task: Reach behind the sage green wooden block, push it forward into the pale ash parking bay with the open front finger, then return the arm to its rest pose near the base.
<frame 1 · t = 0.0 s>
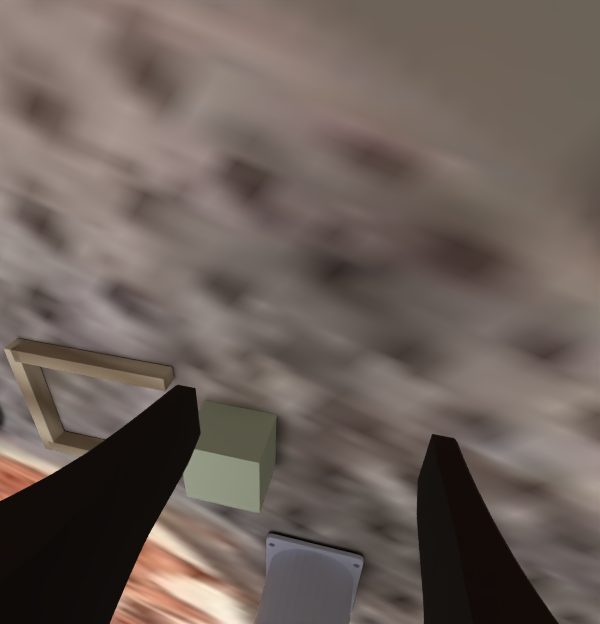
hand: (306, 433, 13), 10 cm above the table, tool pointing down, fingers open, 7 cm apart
sage block: (241, 431, 29), on the table
parking bay: (110, 406, 30), on the table
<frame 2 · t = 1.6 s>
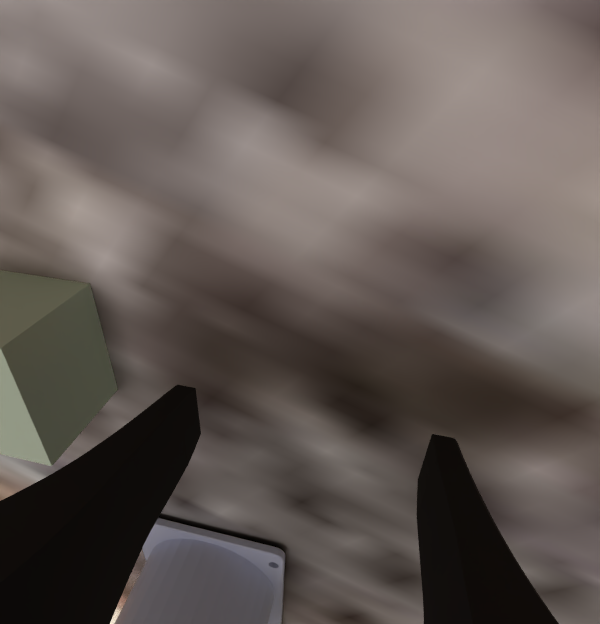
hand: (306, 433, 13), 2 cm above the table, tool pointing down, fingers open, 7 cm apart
sage block: (50, 329, 16), on the table
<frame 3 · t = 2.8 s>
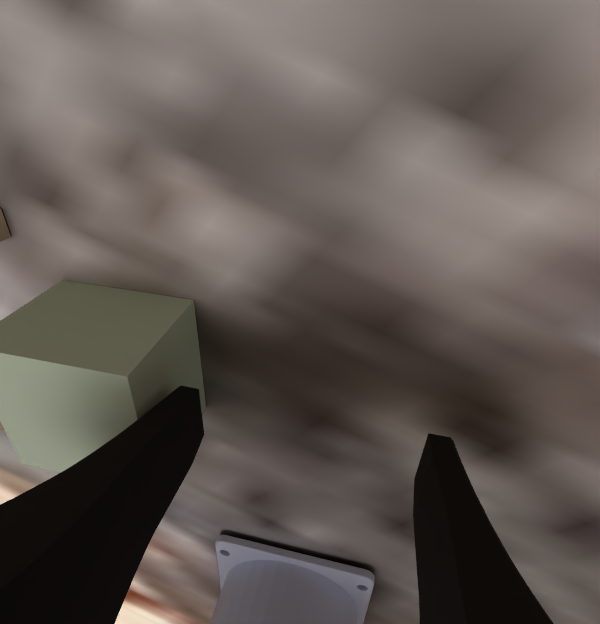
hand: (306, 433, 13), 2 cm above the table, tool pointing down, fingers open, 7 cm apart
sage block: (138, 347, 16), on the table, touching gripper
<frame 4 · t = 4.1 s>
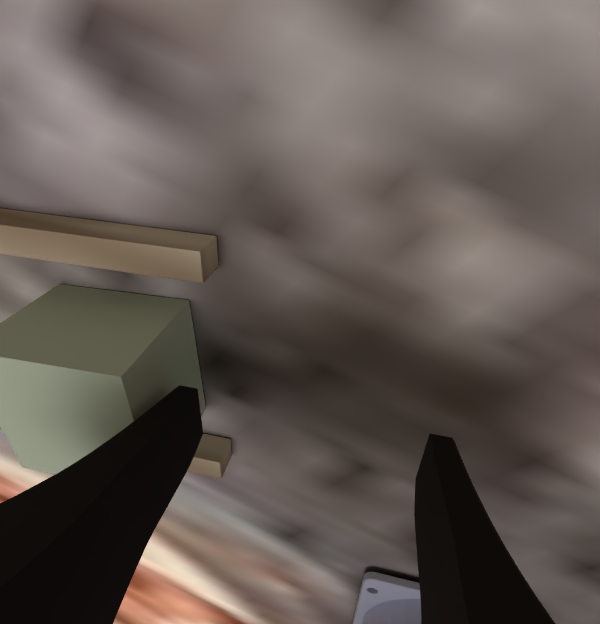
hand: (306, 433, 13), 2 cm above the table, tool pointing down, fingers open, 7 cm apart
sage block: (136, 349, 16), on the table, touching gripper
parking bay: (90, 340, 16), on the table
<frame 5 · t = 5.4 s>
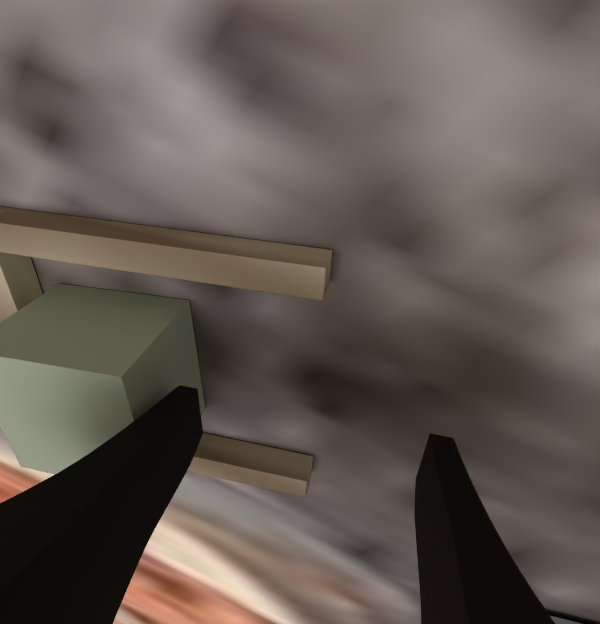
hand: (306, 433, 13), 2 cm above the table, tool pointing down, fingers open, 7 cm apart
sage block: (136, 349, 16), on the table, touching gripper
parking bay: (174, 354, 15), on the table
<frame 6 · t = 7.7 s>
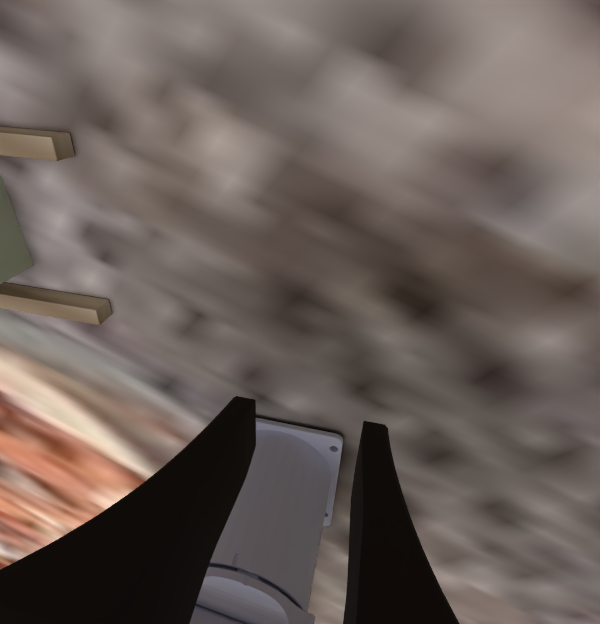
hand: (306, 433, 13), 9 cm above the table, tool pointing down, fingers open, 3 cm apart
parking bay: (3, 222, 23), on the table
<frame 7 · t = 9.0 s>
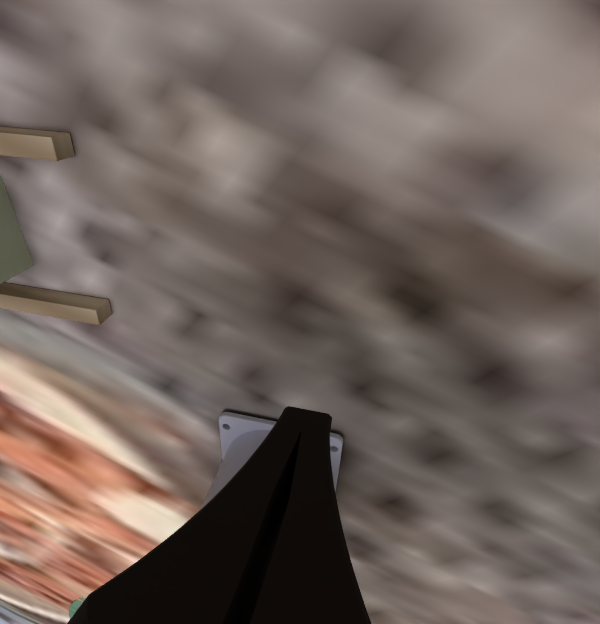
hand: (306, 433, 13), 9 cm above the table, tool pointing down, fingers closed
parking bay: (3, 222, 23), on the table
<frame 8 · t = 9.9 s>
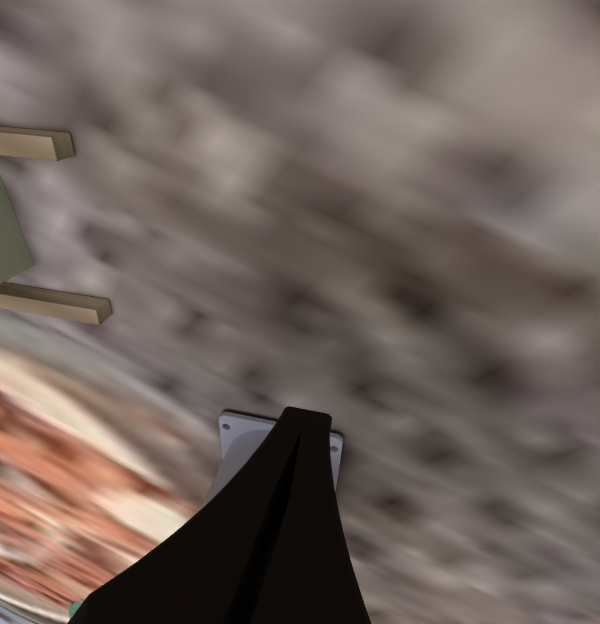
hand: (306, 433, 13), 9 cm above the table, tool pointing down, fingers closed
parking bay: (3, 222, 23), on the table
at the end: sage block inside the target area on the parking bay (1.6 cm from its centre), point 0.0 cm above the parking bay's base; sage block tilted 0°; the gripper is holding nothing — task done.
